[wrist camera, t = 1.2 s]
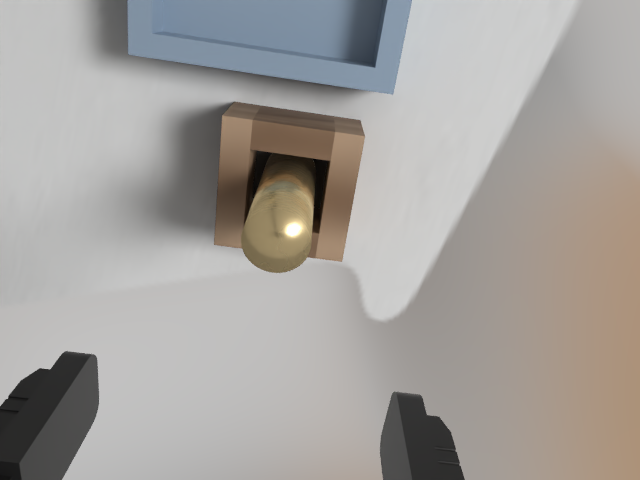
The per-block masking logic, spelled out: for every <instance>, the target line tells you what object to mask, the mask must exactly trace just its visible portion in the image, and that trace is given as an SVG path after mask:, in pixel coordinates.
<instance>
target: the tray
mask: <svg viewBox="0 0 640 480" xmlns="http://www.w3.org/2000/svg"><path fill="white" fill-rule="evenodd" d="M411 3H412V0H127V4H128V55H134V56H140V57H147V58H154V59H160V60H167V61H174V62H180V63H187V64H194V65H200V66H207V67H213V68H220V69H227V70H233V71H240V72H247V73H253V74H260V75H267V76H273V77H280V78H287V79H293V80H300V81H307V82H313V83H320V84H327V85H333V86H340V87H346V88H353V89H360V90H366V91H373V92H380V93H386V94H393V93H394V88H395V83H396V78H397V73H398V68H399V63H400V58H401V53H402V48H403V43H404V38H405V33H406V28H407V23H408V18H409V13H410V8H411Z"/></svg>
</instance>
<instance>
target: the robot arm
mask: <svg viewBox="0 0 640 480" xmlns="http://www.w3.org/2000/svg"><path fill="white" fill-rule="evenodd" d="M97 368H98V366H97V358H96V356H95V355H92V354H85V353H76V352H68V351H66V352H64V353H63V354H62V355H61V356H60V357H59V359H58V360H57V361H56V363H55V364H54V365H53V367H52V368H51V369H50V370H49V369H41V368H40V369H38V370H37V371H35V372H34V373H32V374H30V375H29V376H28V377H26V378H24V379H23V380H21V381H20V383H19V384H18V385H17V386H16V388H15V389H14V390H13V391H12V393H11V394H10V395H9V397H8V399H6V400H5V401H4V403H3V404H2V405H1V406H0V480H62V478H63V477H64V475H65V473H66V471H67V469H68V468H69V466H70V464H71V462H72V460H73V459H74V457H75V455H76V453H77V451H78V449H79V448H80V446H81V444H82V442H83V440H84V439H85V437H86V435H87V433H88V431H89V429H90V428H91V426H92V424H93V422H94V419H95V417H96V413H97V410H98V405H99V389H98V369H97ZM455 450H456V448H455V445H454V441H453V438H452V435H451V432H450V430H449V429H448V428H447V427H446V425H445V424H444V423H443V421H442V420H441V419H440V417H437V416H428V415H427V414H426V411H425V407H424V402H423V398H422V396H421V395H418V394H408V393H400V392H393V394H392V396H391V400H390V404H389V407H388V411H387V415H386V419H385V423H384V427H383V431H382V435H381V443H380V456H381V465H382V474H383V480H465V479H464V476H463V472H462V469H461V466H459V463H460V462H459V459H458V456H457V452H456V451H455Z"/></svg>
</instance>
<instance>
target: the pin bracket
mask: <svg viewBox="0 0 640 480" xmlns="http://www.w3.org/2000/svg"><path fill="white" fill-rule="evenodd" d="M364 139H365V135H364V131H363V128H362V125H361V121H360V120H355V119H348V118H341V117H334V116H327V115H321V114H314V113H307V112H300V111H293V110H287V109H280V108H273V107H266V106H259V105H253V104H246V103H239V102H234V103H233V104H232V105H231V106H230V107H229V108H228V110H227V111H226V112H225V113H224V114H223V115H222V127H221V143H220V159H219V175H218V191H217V207H216V223H215V238H214V245H220V246H227V247H235V248H242V245H241V234H242V231H243V228H244V225H245V222H246V219H247V217H248V214H249V211H250V208H251V205H252V202H253V200H254V199H252V198H253V187H254V177H255V166H256V155H257V150H258V151H265V152H272V153H279V154H286V155H293V156H300V157H307V158H314V159H321V160H327V165H326V172H325V178H324V185H323V191H322V198H321V204H320V208H314V210H313V225H312V239H311V249H310V252H309V255H308V256H307V257H310V258H318V259H325V260H333V261H341V262H342V259H343V254H344V248H345V243H346V237H347V232H348V226H349V221H350V215H351V210H352V204H353V199H354V193H355V188H356V182H357V177H358V172H359V166H360V161H361V155H362V150H363V144H364Z"/></svg>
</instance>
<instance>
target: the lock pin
mask: <svg viewBox="0 0 640 480" xmlns="http://www.w3.org/2000/svg"><path fill="white" fill-rule="evenodd" d="M315 181H316V166H315V163H314V161H313V159H312V158H307V157H300V156H293V155H286V154H279V153H272V154H271V155H270V157H269V158H268V160H267V163H266V166H265V168H264V171H263V174H262V177H261V180H260V183H259V185H258V188H257V191H256V194H255V197H254V200H253V202H252V205H251V208H250V211H249V214H248V217H247V219H246V222H245V225H244V228H243V231H242V234H241V245H242V249H243V252H244V254H245V255H246V257H247V258H248V260H249V261H250V262H251V263H252V264H254V265H255V266H256V267H258V268H260V269H262V270H265V271H268V272H274V273H282V272H287V271H290V270H293V269H295V268H297V267H298V266H300V265H301V264H302V263H303V262H304V261H305V260H306V258H307V256H308V255H309V252H310V249H311V239H312V225H313V210H314V195H315Z"/></svg>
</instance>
